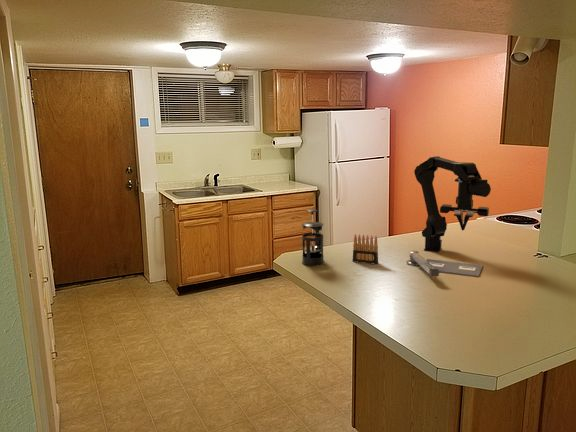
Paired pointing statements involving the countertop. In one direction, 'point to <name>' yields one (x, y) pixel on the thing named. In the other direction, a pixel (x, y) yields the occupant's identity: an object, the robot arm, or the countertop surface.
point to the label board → (456, 267)
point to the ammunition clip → (365, 250)
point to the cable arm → (424, 263)
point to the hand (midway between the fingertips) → (463, 230)
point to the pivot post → (412, 262)
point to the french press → (316, 252)
